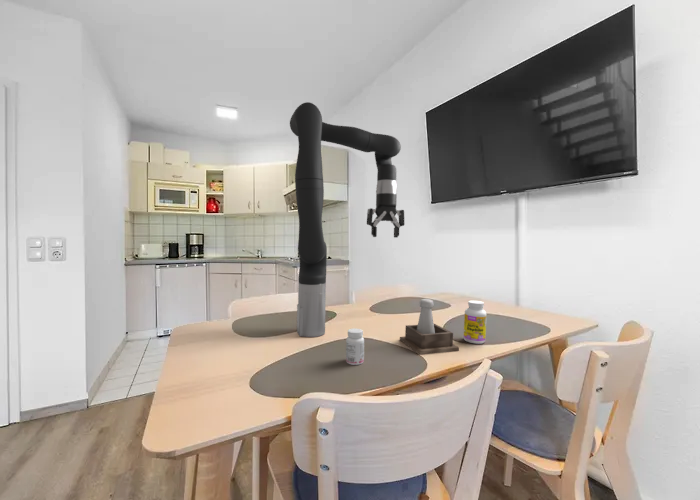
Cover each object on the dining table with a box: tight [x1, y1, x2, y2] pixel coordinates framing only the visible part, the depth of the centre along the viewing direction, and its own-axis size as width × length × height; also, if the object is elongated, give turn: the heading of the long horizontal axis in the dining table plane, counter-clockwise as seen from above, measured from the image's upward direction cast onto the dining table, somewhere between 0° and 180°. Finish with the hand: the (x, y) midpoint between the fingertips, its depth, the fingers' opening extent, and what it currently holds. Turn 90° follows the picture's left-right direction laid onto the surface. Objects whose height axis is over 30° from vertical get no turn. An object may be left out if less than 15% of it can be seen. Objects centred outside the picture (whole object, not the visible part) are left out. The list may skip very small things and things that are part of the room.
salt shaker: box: [417, 298, 435, 334], centre depth 99 cm, size 6×6×13 cm
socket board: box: [399, 323, 460, 355], centre depth 98 cm, size 13×13×5 cm
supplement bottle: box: [463, 300, 488, 345], centre depth 103 cm, size 7×7×13 cm
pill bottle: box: [345, 327, 365, 366], centre depth 84 cm, size 5×5×8 cm
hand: (385, 237), depth 119 cm, fingers open, 8 cm apart
